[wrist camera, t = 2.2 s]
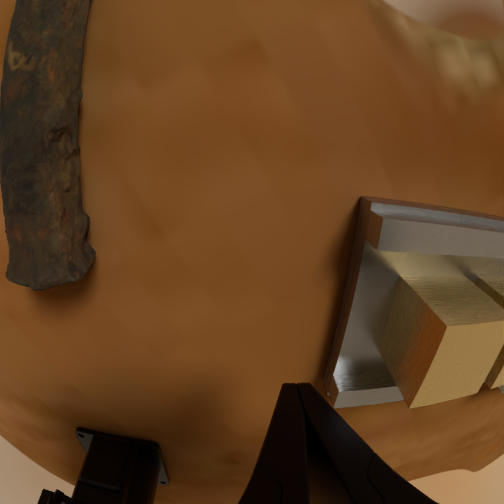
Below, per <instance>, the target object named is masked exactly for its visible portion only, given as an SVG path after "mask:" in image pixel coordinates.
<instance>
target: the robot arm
mask: <svg viewBox="0 0 504 504" xmlns="http://www.w3.org/2000/svg"><path fill="white" fill-rule="evenodd" d="M75 434H76V436H77V438H78V440H79V441H80V443H81V445H82V447H83V449H84V450H85V452H86V457H85V460H84V462H83V465H82V468H81V471H80V474H79V477H78V480H77V482H76V485H75V488H74V491H73V495H72V497H71V498H70V497H68V496H66V495H64V493H63V492H61V491H59V490H56V491H55V492H52V491H49V490H45V489H43V490H42V493H41V496H40V498H39V501H38V504H154V500H155V494H156V488H157V484H160V485H169V481H170V479H169V476H168V473H167V470H166V466H165V463H164V460H163V456H162V453H161V449H160V446H159V445H158V444H156V443H154V442H149V441H142V440H136V439H131V438H125V437H120V436H115V435H110V434H105V433H101V432H97V431H92V430H88V429H84V428H80V427H78V428H77V429H76V431H75ZM238 504H439V503H437V502H435V501H433V500H432V499H430V498H429V497H428V496H426V495H425V494H424V493H422V492H421V491H420V490H418V489H417V488H416V487H414V486H413V485H412V484H410V483H409V482H408V481H406V480H405V479H404V478H402V477H401V476H400V475H399V474H398V473H396V472H395V471H394V470H393V469H392V468H391V467H390V466H389V465H388V464H386V463H385V462H384V461H383V460H382V459H381V458H380V457H379V456H378V455H377V454H376V453H374V451H373V450H372V449H371V448H370V447H369V446H368V445H367V443H366V442H365V441H364V440H363V439H362V438H361V437H360V436H359V435H358V434H357V433H356V432H355V431H354V430H353V429H352V428H351V427H350V426H349V425H348V424H347V423H346V421H345V420H344V419H343V418H342V417H341V416H340V415H339V414H338V413H337V412H336V411H335V410H334V409H333V408H332V407H331V405H330V404H329V403H328V402H327V401H326V400H325V399H324V398H323V397H322V396H321V395H320V394H319V392H318V391H317V390H316V389H315V388H314V387H313V386H312V385H311V384H310V383H297V384H295V383H283V384H282V387H281V390H280V393H279V396H278V400H277V403H276V406H275V409H274V412H273V415H272V419H271V422H270V425H269V428H268V431H267V434H266V437H265V440H264V443H263V446H262V448H261V451H260V454H259V457H258V460H257V464H256V465H255V468H254V471H253V474H252V476H251V478H250V481H249V483H248V485H247V488H246V490H245V491H244V493H243V495H242V497H241V499H240V501H239V502H238Z"/></svg>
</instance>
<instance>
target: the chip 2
mask: <svg viewBox="0 0 504 504" xmlns="http://www.w3.org/2000/svg"><path fill="white" fill-rule="evenodd" d="M476 286H477V287H479V288H480V289H481V290H482V291H483V292H485V293H486V294H487V295H488V296H489V297H491V298H492V299H493V300H494V301H495V302H496V303H497V304H499V305H500V306H501V307H502V308H503V309H504V277H479V278H478V281H477V284H476ZM484 381H485V383H486V384H487V385H488V386H489V388H490V389H492V388H496V387H499V386H502V385H504V344H503V346H502V348H501V350H500V352H499V354H498V356H497V358H496V360H495V362H494V364H493V366H492V368H491V370H490V371H489V373H488V375H487V377H486V379H485V380H484Z"/></svg>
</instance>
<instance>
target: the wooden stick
mask: <svg viewBox="0 0 504 504" xmlns="http://www.w3.org/2000/svg"><path fill="white" fill-rule="evenodd" d="M90 3H91V0H17V1H16V5H15V11H14V14H13V17H12V19H11V25H10V30H9V34H8V39H7V44H6V50H5V57H4V65H3V77H2V83H1V97H0V178H1V179H0V183H1V191H2V199H3V213H4V217H5V227H6V231H5V232H6V235H7V240H8V244H9V250H10V252H9V264H8V267H7V272H6V277H7V279H8V280H9V281H11V282H13V283H16V284H19V285H22V286H26V287H30V288H31V289H32V290H41V291H43V290H47V289H49V288H51V287H53V286H58V285H64V284H67V283H70V282H77V281H78V280H80V279H82V278H83V277H84V276H85V275H86V274H87V272H88V271H89V268H90V265H91V264H92V263H93V261H94V260H95V253H96V252H95V251H94V249H93V248H92V247H91V246H90V245H89V244H88V243H87V241H86V239H85V236H86V233H87V229H88V225H89V219H90V218H89V216H88V215H87V214H86V213H84V212H83V210H82V202H81V192H80V149H79V145H78V111H79V103H80V101H81V99H82V95H83V93H82V90H81V88H80V84H81V68H82V61H83V44H84V36H85V30H86V24H87V17H88V13H89V8H90Z"/></svg>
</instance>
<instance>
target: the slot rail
mask: <svg viewBox="0 0 504 504" xmlns="http://www.w3.org/2000/svg"><path fill="white" fill-rule="evenodd" d="M400 276H438V277H466V278H468V279H469V280H470V281H471V282H472V283H474V284H475V285H476V284H477V281H478V278H479V277H504V217H499V216H494V215H488V214H483V213H477V212H472V211H466V210H460V209H454V208H448V207H441V206H435V205H428V204H421V203H414V202H407V201H399V200H392V199H384V198H375V197H367V196H361V199H360V206H359V213H358V220H357V226H356V232H355V238H354V244H353V250H352V255H351V261H350V266H349V271H348V276H347V281H346V286H345V291H344V296H343V300H342V305H341V309H340V314H339V318H338V323H337V327H336V331H335V335H334V339H333V343H332V347H331V351H330V355H329V359H328V363H327V366H326V370H325V374H324V377H323V383H324V386H325V390H326V393H327V395H330V399H331V402H332V406H333V408H342V407H353V406H363V405H372V404H380V403H387V402H394V401H401V400H404V398H403V396H402V394H401V392H400V390H399V388H398V387H397V385H396V383H395V381H394V379H393V377H392V375H391V373H390V371H389V369H388V368H387V366H386V364H385V362H384V360H383V358H382V357H381V355H380V353H379V351H378V349H379V346H380V343H381V340H382V337H383V334H384V331H385V327H386V324H387V321H388V318H389V314H390V311H391V308H392V304H393V301H394V297H395V294H396V290H397V286H398V282H399V279H400ZM483 383H485V381H484V382H483Z"/></svg>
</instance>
